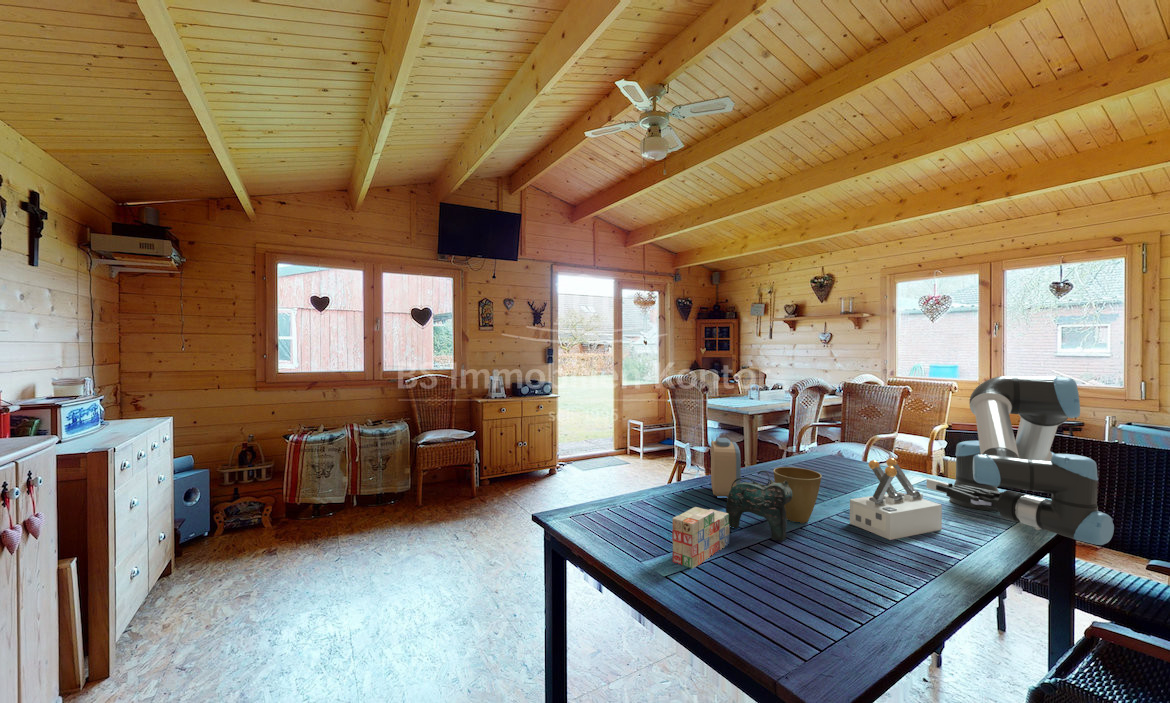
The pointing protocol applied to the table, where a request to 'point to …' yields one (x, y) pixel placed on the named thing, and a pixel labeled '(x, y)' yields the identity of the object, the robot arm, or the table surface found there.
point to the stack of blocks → (699, 535)
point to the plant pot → (799, 491)
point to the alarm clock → (724, 466)
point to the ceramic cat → (760, 504)
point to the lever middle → (879, 474)
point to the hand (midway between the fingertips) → (928, 483)
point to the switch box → (896, 516)
